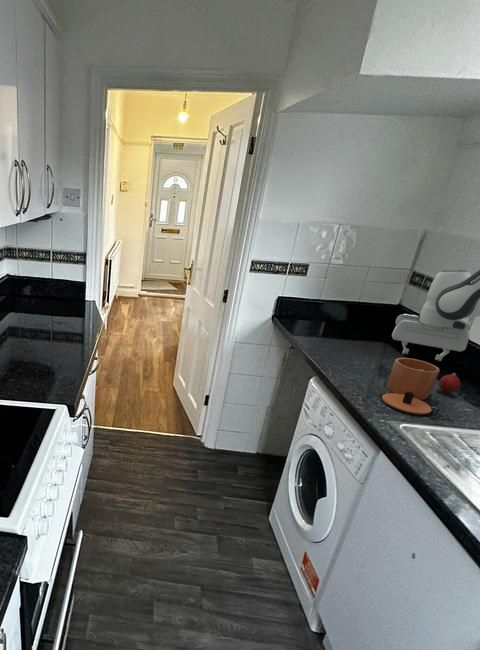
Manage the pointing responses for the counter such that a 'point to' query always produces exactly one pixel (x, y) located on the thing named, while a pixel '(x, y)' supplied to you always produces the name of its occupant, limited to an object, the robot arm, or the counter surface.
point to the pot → (412, 377)
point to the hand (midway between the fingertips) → (421, 356)
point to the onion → (449, 383)
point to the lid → (406, 403)
